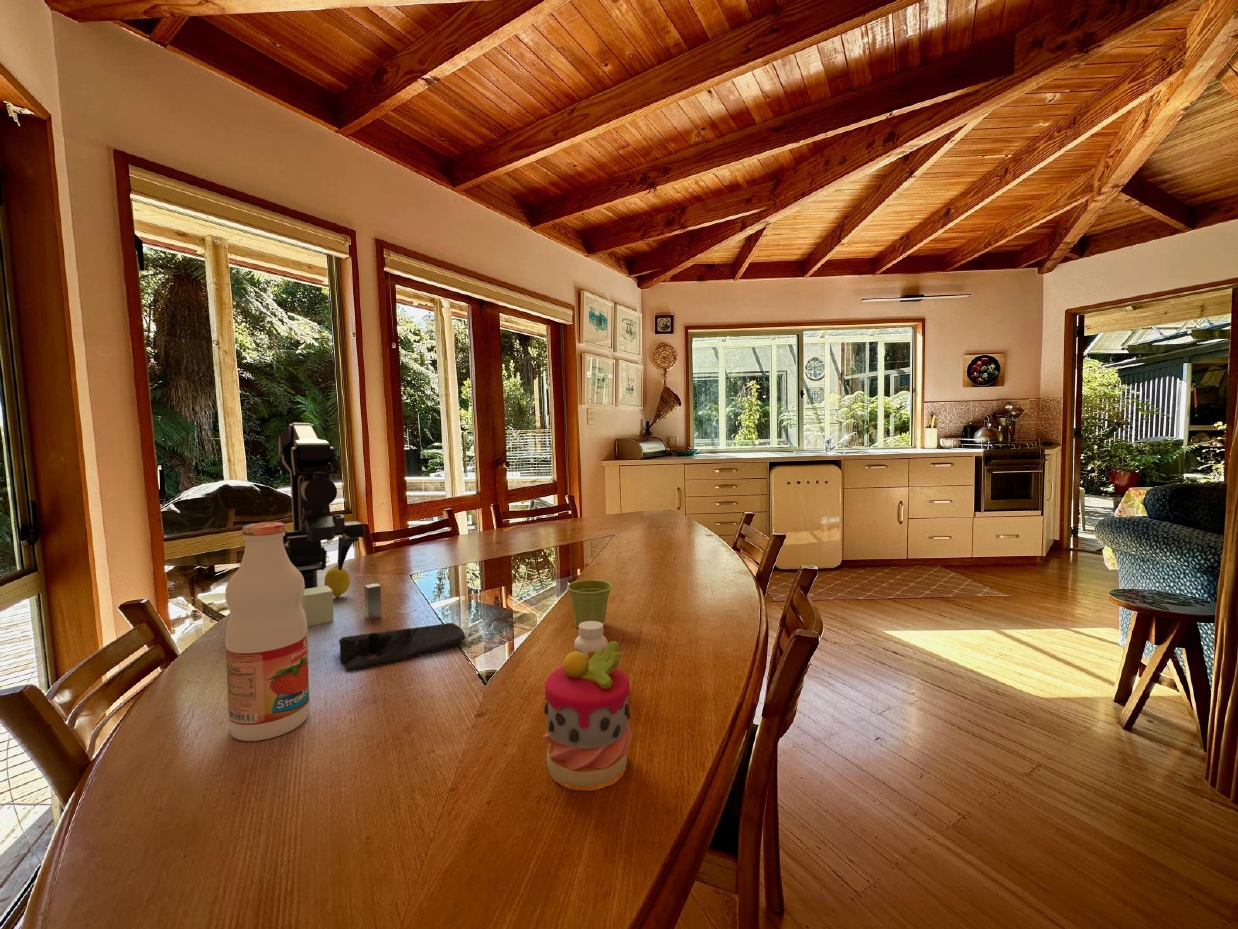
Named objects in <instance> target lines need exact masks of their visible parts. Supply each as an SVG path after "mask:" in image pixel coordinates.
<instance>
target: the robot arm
mask: <svg viewBox="0 0 1238 929" xmlns="http://www.w3.org/2000/svg"><path fill="white" fill-rule="evenodd" d="M278 455H279V456H281V461H282V465H283V466H284V467H285V468H286V469H287V471H288V472H289V476H290V492H291V494H290V495H291V496H290V497H291V512H292V513H291V515H292V516H291V517H292V530H291V531H287V530H286V531H285V535H284V536H283V543H284V547H285V550H286V553H287V555H288V557H289V559H290V561H291V563H292V564H293V565H294V566H295V567H296V568H297V569H298V570H299V571H300V572H301V574H302V576H303V578H304V584H305V589H309V588H315V587H319V586H318V571H325V569H326V568H327V554H328V551H327V550H326V549H325V546H324V545H322V541H331V540H334V539H335V536H338V542H337V543H338V546H337V547H338V548H337V549H338V550H337V565H338V569H339V570H342V567H343V568H344V563H345V561H346V558H347V556H348V553H349V550H350V548H351V546H353V544H354V542H358V541H359V539H360V538H365V537H366V527H365V525H364V524H363V523H362V522H359V521H357V520H356V521H355V520H354V521H346V520H345V515H344V514H334V515H332V514H331V506H330V505H331V504H332V503H334V501H335V499H336V498H337V496H338V488H337V487H336V486H337V485H336V484H335V483H334V482H333V481H332V480H331V479H330V475H337V474H338V471H339V470H340V465H339V460H338V454H337V452H336V451H335V448H334V447H333V446H331V444H330V442H329V441H327V440H325V439H320V436H319V433H318V432H317V431H315V424H314V423H310V422H292V423H289V424H288V428H287V429H286V430H284V431H282V432H281V433H279V436H278Z"/></svg>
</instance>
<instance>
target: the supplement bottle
mask: <svg viewBox="0 0 1238 929" xmlns="http://www.w3.org/2000/svg"><path fill="white" fill-rule="evenodd" d="M608 644H609V643H608V639H607V638H606V637H605V636H604V627H603V624H602V623H601V622H597V621H586V622H582V623H580V624H579V629H578V636H577V637H576V638H575V639H574V651H579V652H581V653H583V654H585V656H586V657H587V659H588V661H589V660H590V659H591V658H592V657H593V655H594V654H595V653H596V652H597V651H598V650H599V649H601V650H603V651H604V650H605V649H606V647H607V645H608ZM574 651H573V652H574Z"/></svg>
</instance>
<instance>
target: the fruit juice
mask: <svg viewBox="0 0 1238 929" xmlns="http://www.w3.org/2000/svg"><path fill="white" fill-rule="evenodd" d="M285 531H287V529H286V524H285V523H284V522H282V521H281V522H279V521H278V522H277V521H272V522H271V521H269V522H268V521H267V522H266V521H265V522H257V523H255V522H254V523H250V524H246V525H244V526H242V530H241V534H242V539H243V540H244V541H245V547H244V553H243V556H242V558H241V562H240V565H239V567H238V568H237V570H236V571H235V572H234V574H233V575H232V576H231V577H230V579H229V580H228V582H227V584H226V587H225V593H224V598H225V602H226V603H225V604H226V605H227V607H228V611H229V614H230V616H229V620H228V622H227V624H226V628H225V654H226V655H225V657H226V680H227V681H226V682H227V684H226V685H227V705H228V706H227V710H228V712H227V713H228V728H229V733H230V735H231V736H232V738H234V739H236V740H239V741H243V742H258V741H264V740H268V739H270V740H271V739H272V738H277V737H280V736H282V735H284V734H287V733H289V732H291V731H293V730H295V729H298V727H299V726H301V725H302V724H303V723H304V722H305V721H306V720H307V718H308V715H309V713H310V683H309V682H310V681H309V676H310V675H309V651H308V650H309V645H308V641H309V640H308V626H307V620H306V615H305V612H304V610H303V608H302V606H301V601H302V598H303V594H304V589H305V584H304V578H303V576H302V574H301V572H300V571H299V570H298V569H297V568H296V567H295V566H294V565H293V564H292V563H291V561H290V559H289V557H288V555H287V553H286V550H285V547H284V543H283V536H284V535H285Z"/></svg>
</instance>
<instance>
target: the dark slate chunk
mask: <svg viewBox="0 0 1238 929" xmlns="http://www.w3.org/2000/svg"><path fill="white" fill-rule="evenodd" d="M465 640H466V634H465V631H464V630H463V629H462V628H461V627H460V626H459V625H457V624H455V623H454V622H449V623H448V622H447V623H440V624H433V625H425V626H418V627H411V628H410V627H409V628H401V629H392V630H386V631H384V630H383V631H376V632H371V633H363V634H362V633H361V634H356V635H350V636H349V635H347V636H342V637H341V638H339V640H338V642H339V658H340V659H339V660H340V663H341V665H342V666H343V668H345V670H346V671H349V672H352V671H359V670H360V669H364V668H369V667H376V666H382V665H386V664H390V663H395V662H401V661H403V660H406V659H409V658H415V657H419V656H421V655H422V656H424V655H428V654H433V653H436V652H442V651H444V650H448V649H449V648H450V649H451V648H454V647H456V646H458V645H460V644H462V643H464V642H465ZM373 653H375V654H376V653H377V657H371V658H369V657H368V654H373Z"/></svg>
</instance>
